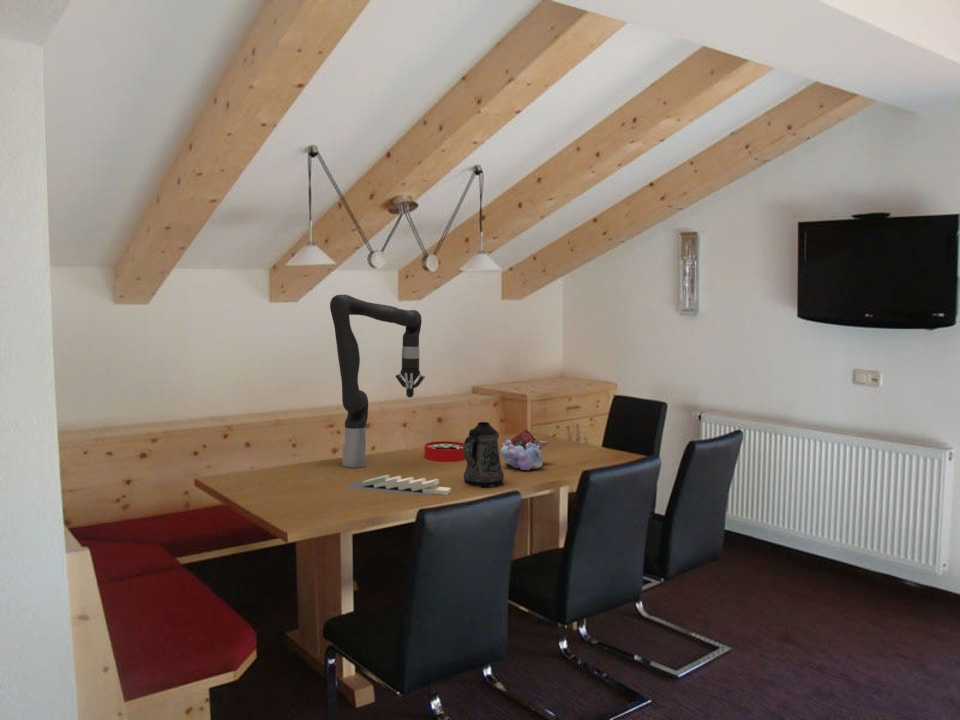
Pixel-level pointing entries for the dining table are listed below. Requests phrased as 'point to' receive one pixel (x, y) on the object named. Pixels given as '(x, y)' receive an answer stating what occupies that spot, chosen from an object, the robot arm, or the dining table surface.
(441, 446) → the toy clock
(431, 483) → the domino
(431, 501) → the dining table surface
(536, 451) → the swirly pastel blob
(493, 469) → the beer stein
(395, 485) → the domino
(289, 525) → the dining table surface
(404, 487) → the domino
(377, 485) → the domino
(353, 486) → the mat
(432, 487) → the domino
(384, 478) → the domino
